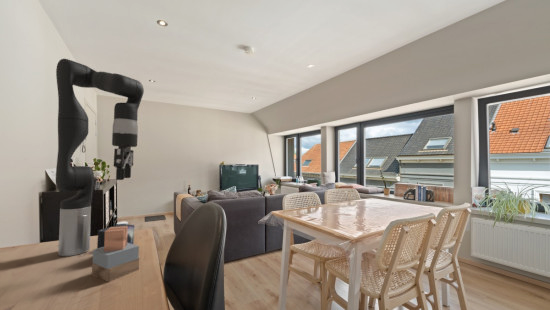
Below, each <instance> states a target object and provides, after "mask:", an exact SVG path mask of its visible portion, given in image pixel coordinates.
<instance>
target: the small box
mask: <svg viewBox="0 0 550 310" xmlns="http://www.w3.org/2000/svg"><path fill="white" fill-rule="evenodd" d="M122 226H128V229H127V243H130V244H134V243H135V242H134V241H135V238H134V237H135V224H129V223H128V224H119V225H117V224H116V225H113V226H110V227H122ZM110 227H106V228H102V229H99V230H97V244H96V247H97V248H96V249H98V248H101V247H104V241H105V231H106V230H107V229H109V228H110ZM134 245H135V244H134Z"/></svg>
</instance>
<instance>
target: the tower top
mask: <svg viewBox="0 0 550 310" xmlns="http://www.w3.org/2000/svg"><path fill="white" fill-rule="evenodd" d="M139 249H140V246H139V245H137V244H130V243H127V245H126V246H125V248H124V249H123V250H114V251H104V247H101V248H98V249H97V248H94V249H92V263H94V264H97V265H99V266H101V267H103V268H106V269H110V268H113V267H116V266H118V265H121V264H124V263H127V262H130V261H133V260H136V259H138V258H140V257H139Z"/></svg>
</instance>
